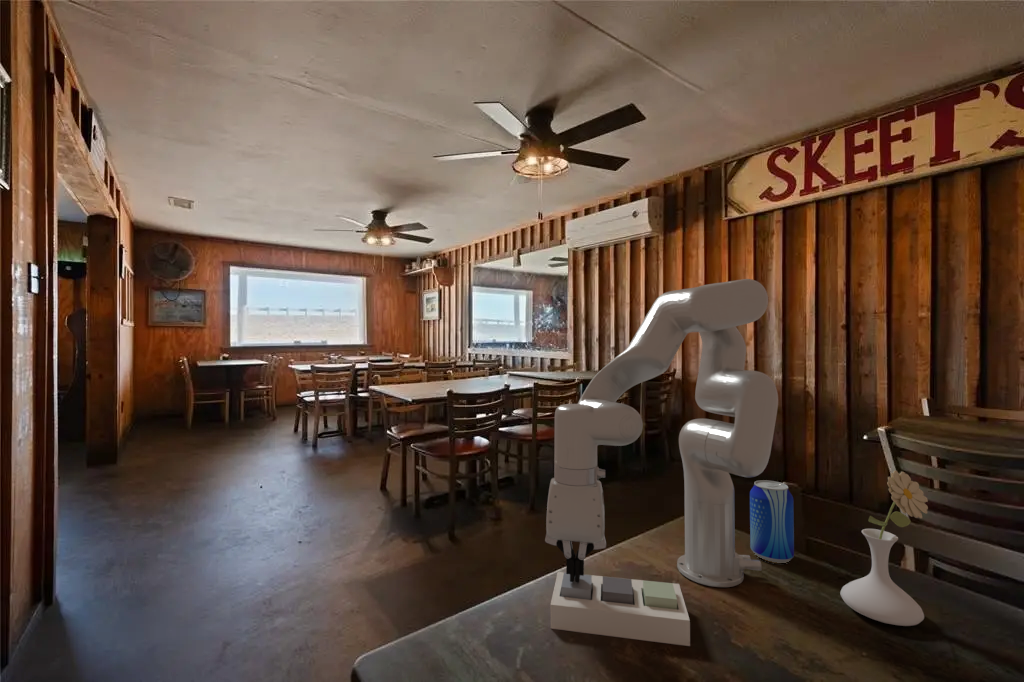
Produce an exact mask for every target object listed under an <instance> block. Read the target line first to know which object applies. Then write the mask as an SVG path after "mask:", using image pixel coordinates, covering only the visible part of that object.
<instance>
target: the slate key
mask: <svg viewBox="0 0 1024 682" xmlns="http://www.w3.org/2000/svg"><path fill="white" fill-rule="evenodd" d="M592 575H593V574H592ZM592 575H591V574H584V576H581V575H580V580H579V583H577V582H576V581H575V579H574V581H573V582H570V574H566V572H564V575H563V581H562V586H561V597H569V598H578V599H587V600H591V595H592Z"/></svg>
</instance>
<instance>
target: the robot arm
mask: <svg viewBox="0 0 1024 682" xmlns="http://www.w3.org/2000/svg"><path fill="white" fill-rule="evenodd" d="M768 305H769V294H768V291H767V290H766V288H765V287H764V285H763V284H762V283H761V282H759V281H758V280H754V279H752V278H751V279H750V278H744V279H736V280H730V281H722V282H714V283H709V284H704V285H700V286H695V287H689V288H683V289H675V290H669V291H666V292H664V293H662V294H661V295H659V296H658V297H657V298H656V299H655V300H654V301H653V304H652V305H651V307H650V309H649V311H648V312H647V313H646V315H645V317H644V319H643V320H642V322H641V324H640V326H639V327H638V329H637V331H636V332H635V334H634V335H633V337H632V339H631V341H630V343H629V344H628V345H627V347H626V349H624V350H623V351H621V353H620V354H618V355H617V356H615V357H614V358H613V359H612V360H611V361H609V362H608V363H607V364H606V365H605V366H604V367H602V369H601V370H599V371H598V372H597V373H596V374H595V376H593V378H592V379H591V380H590V382H589V383H588V385H586V387H585V390H584V391H583V393H582V395H581V396H580V398H579V400H578V402H577V403H566V404H565V403H564V404H560V405H559V406H557V407H556V408H555V412H554V452H553V453H554V456H553V457H554V459H553V461H554V462H553V463H554V464H553V465H554V467H553V468H554V469H553V470H554V471H553V473H554V475H553V476H554V477H552V478H551V479H550V483H549V488H548V495H547V504H546V506H547V507H546V509H547V510H546V518H545V519H546V521H545V522H546V523H545V525H546V527H545V530H546V534H545V538H544V542H545V543H547V544H549V545H551V546H556V547H557V548H558V549H559V551H560V552H562V553H563V555H564V557H565V558H566V563H565V564H566V566H565V567H566V571H565V573H566V574H570V582H573V581H574V579H575V581H576V582H577V583H579V580H580V575H581V576H584V575H585V558H586V557H587V556H588V555H589V554H590V553H592V552H593V550H602V549H606V548H607V541H606V537H605V530H606V529H605V528H606V526H605V525H606V518H605V514H606V513H605V500H604V490H603V487H602V482H601V481H600V480H599V479H601V478H606V469H602V468H599V466H598V446H601V445H603V446H614V447H617V446H618V447H619V446H620V447H622V446H627V445H630V444H632V443H634V442H636V441H637V440H639V439H638V438H639V437H640V436H641V434H642V432H643V426H644V425H643V418H642V416H641V414H640V413H639V412H638V410H636V409H635V408H634V407H632V406H630V405H628V404H626V403H620V402H617V400H619V399H620V397H621V396H622V395H623V394H624V393H625V392H627V391H628V390H629V389H631V388H633V387H635V386H636V385H639V384H640V383H641V384H642V383H644V382H646V381H649V380H652V379H654V378H656V377H659V376H661V375H662V374H664V373H665V372H667V370H669V367H670V365H671V364H672V362H673V360H674V358H675V356H676V354H677V352H678V351H679V349H680V348H681V345H682V343H683V342H684V340H685V338H686V337H687V335H688V334H691V333H699V336H700V339H701V344H702V345H701V357H700V361H699V362H700V363H699V367H698V372H697V377H696V378H697V379H696V385H695V392H694V393H695V395H694V399H695V402H696V404H697V406H698V407H699V408H700V409H701V410H703V411H705V412H708V413H712V414H715V415H716V414H717V415H722V416H727V417H733V418H734V423H731V422H727V421H721V420H715V419H709V418H695V419H691V420H688V421H687V422H685V424H684V425H683V426H682V427H681V430H680V431H679V435H678V447H679V453H680V457H681V461H682V468H683V480H684V484H683V485H684V490H683V491H684V496H683V497H684V554H683V555H681V556H679V557H678V558H677V560H676V561H677V562H676V563H677V564H676V566H677V570H678V571H679V573H681V575H682V576H684V577H686V578H687V579H688V580H690V581H692V582H695V583H698V584H700V585H703V586H708V587H713V588H714V587H715V588H730V587H735V586H738V585H739V584H741V583H742V582H743V581H744V578H745V577H744V571H745V570H752V571H758V572H759V571H762V569H763V568H762V563H761V559H751V556H750V555H749V554H738V553H737V552H736V547H735V546H736V545H735V544H736V543H735V542H736V541H735V538H736V537H735V536H736V532H735V531H736V529H735V525H736V524H735V521H736V519H735V486H734V483H733V480H732V477H731V475H730V474H732V475H735V476H739V477H744V478H755V477H757V476H759V475H761V474H762V473H763V472H764V470H765V469H766V468H767V465H768V463H769V459H770V457H771V451H772V446H773V441H774V433H775V429H776V427H775V426H776V421H777V415H778V409H779V408H778V407H779V394H778V390H777V386H776V383H775V382H774V380H773V379H772V378H771V377H770V376H769V375H767V374H766V373H764V372H762V371H758V370H749V369H747V370H746V369H745V365H746V356H747V345H746V342H745V339H744V337H743V335H742V334H741V332H740V331H739V329H738V328H737V327H739V326H743V325H747V324H748V325H749V324H751V323H753V322H756V321H758V320H759V319H760V318H761V317H762V316H764V314H765V313H766V311H767V308H768ZM573 542H574V543H575V542H576V543H579V547H578V550H576V553H575V550H574V549H573V544H572V543H573Z"/></svg>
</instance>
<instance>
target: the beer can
mask: <svg viewBox="0 0 1024 682" xmlns="http://www.w3.org/2000/svg"><path fill="white" fill-rule="evenodd" d="M779 484H781V485H779ZM794 508H795V507H794V497H793V495H792V493H791V492H790V490H789V486H788V485H787V484H786V483H783V482H779V481H774V480H767V479H766V480H764V479H763V480H756V481H754V484H753V486H752V487H751V489H750V491H749V526H750V527H749V529H750V530H749V531H750V534H749V537H750V538H749V539H750V541H749V542H750V543H749V547H750V550H751V551H752V552H753V553H755V554H754V556H755V555H757V556H758V557H760V558H762V559H765V560H768V561H772V562H777V563H786V562H789V561H791V560H792V559H793V558H794V557H795V533H794V532H795V527H794V525H795V523H794V520H795V519H794V518H795V517H794V515H795V514H794ZM758 557H757V558H758ZM789 563H790V562H789ZM786 564H787V563H786Z"/></svg>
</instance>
